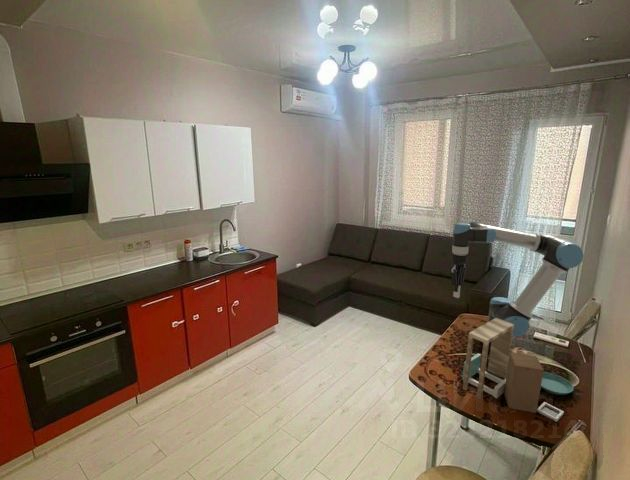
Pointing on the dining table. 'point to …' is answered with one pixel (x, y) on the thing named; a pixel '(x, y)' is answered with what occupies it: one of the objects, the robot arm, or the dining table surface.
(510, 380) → the wooden block
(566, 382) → the saucer
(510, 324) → the beige tall open frame
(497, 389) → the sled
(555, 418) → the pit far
